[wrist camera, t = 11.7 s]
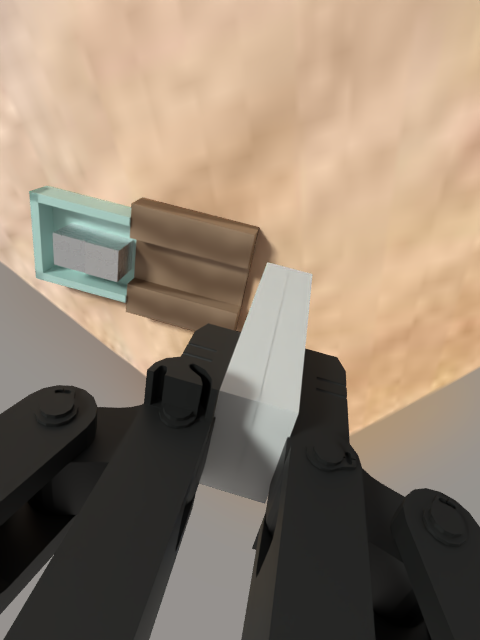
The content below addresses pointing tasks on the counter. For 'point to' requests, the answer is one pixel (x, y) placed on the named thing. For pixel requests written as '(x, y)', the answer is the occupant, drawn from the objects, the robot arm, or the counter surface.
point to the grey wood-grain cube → (108, 256)
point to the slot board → (188, 265)
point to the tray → (68, 207)
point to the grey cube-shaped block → (72, 246)
